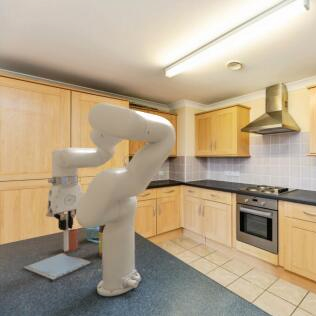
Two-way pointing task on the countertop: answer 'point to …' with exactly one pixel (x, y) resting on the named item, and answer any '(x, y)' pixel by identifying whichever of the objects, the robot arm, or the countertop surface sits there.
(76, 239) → the pen pot
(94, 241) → the chair
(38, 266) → the plate
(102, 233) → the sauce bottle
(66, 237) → the stylus
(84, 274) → the countertop surface
